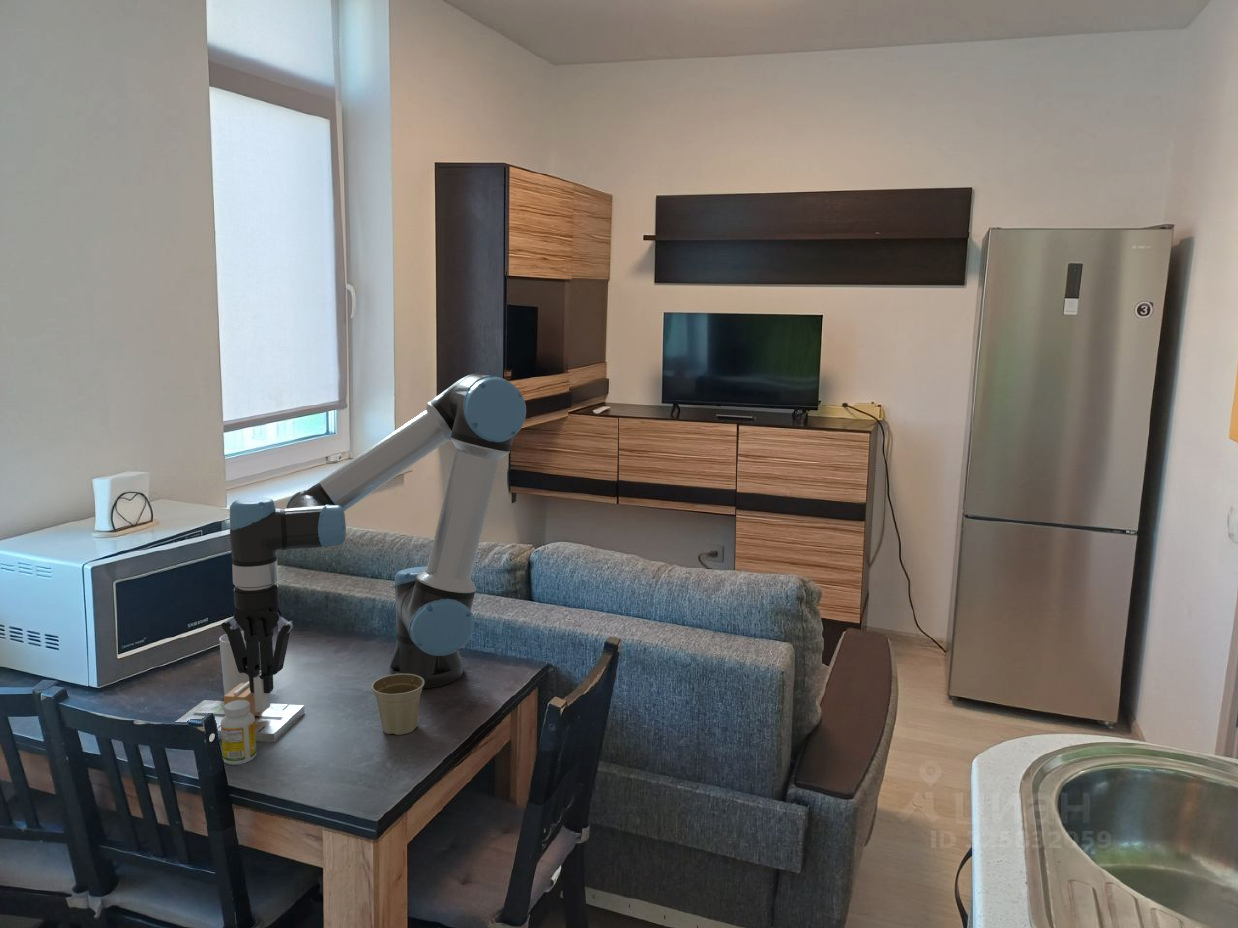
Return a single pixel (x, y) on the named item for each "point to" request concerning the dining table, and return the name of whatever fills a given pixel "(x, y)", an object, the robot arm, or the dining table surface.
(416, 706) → the flower pot
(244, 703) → the supplement bottle
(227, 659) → the mug
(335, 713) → the dining table surface
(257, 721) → the console
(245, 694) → the cardboard box
